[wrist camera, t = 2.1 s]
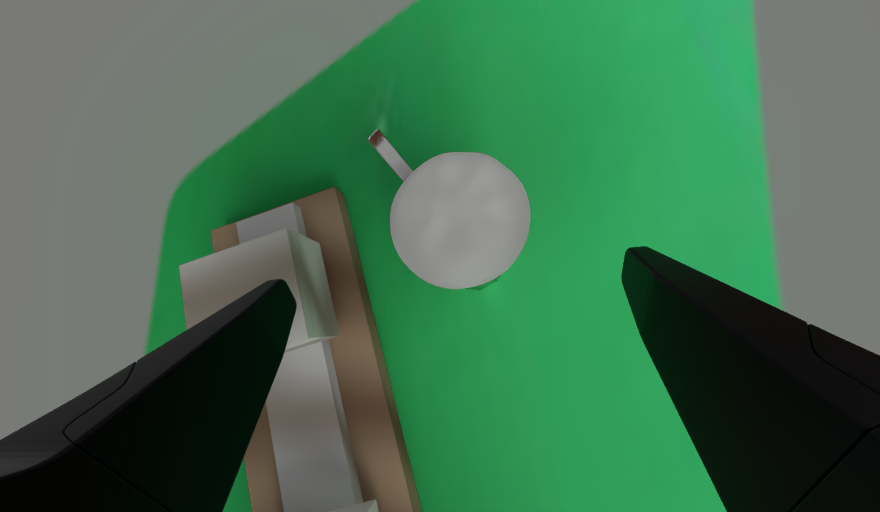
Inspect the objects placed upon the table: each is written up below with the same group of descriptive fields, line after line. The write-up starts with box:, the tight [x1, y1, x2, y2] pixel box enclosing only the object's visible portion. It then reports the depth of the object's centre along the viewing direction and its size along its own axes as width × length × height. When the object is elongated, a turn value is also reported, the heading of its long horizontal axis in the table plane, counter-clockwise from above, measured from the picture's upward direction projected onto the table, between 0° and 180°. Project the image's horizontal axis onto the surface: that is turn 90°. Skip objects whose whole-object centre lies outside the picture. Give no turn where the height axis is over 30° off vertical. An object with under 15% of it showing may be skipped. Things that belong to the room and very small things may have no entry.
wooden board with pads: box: [179, 187, 422, 512], centre depth 16 cm, size 24×8×5 cm, turn 17°
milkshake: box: [368, 129, 530, 290], centre depth 14 cm, size 4×5×10 cm
